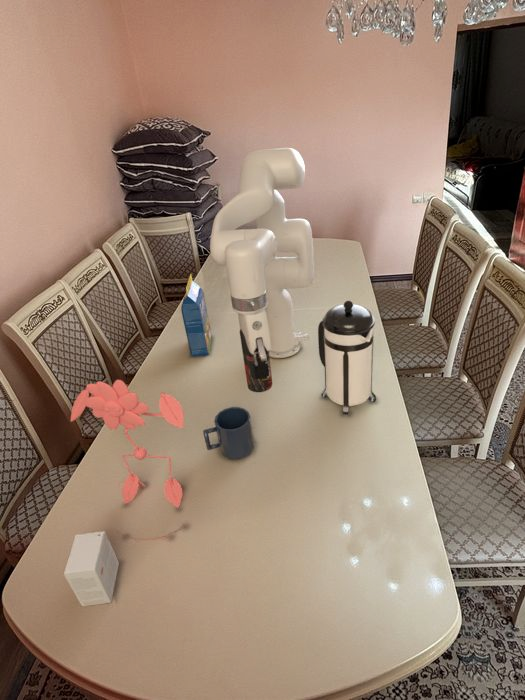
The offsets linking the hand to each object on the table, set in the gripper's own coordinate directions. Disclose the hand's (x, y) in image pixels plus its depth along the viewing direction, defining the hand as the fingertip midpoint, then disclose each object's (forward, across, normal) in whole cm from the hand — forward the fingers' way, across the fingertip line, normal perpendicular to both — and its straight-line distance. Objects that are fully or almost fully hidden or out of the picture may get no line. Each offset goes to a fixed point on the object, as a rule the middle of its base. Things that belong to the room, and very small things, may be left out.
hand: (258, 368), depth 105 cm
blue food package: (+21, +52, +8) cm, 57 cm away
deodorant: (+5, 0, 0) cm, 5 cm away
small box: (+21, -27, +41) cm, 54 cm away
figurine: (+21, -13, +31) cm, 40 cm away
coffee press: (+21, +7, -25) cm, 33 cm away
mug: (+21, -1, +10) cm, 23 cm away
